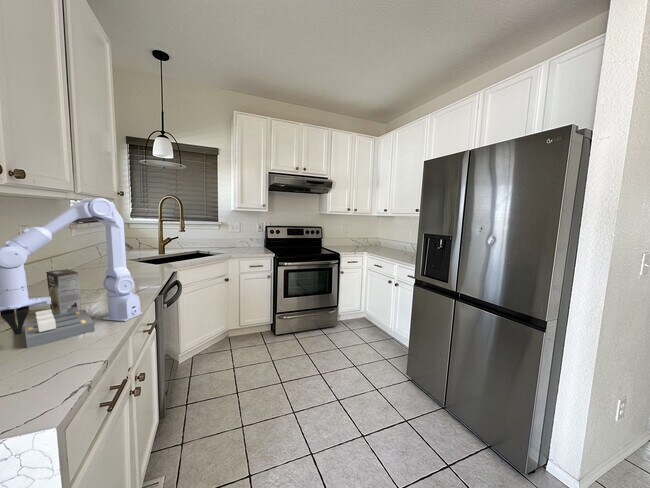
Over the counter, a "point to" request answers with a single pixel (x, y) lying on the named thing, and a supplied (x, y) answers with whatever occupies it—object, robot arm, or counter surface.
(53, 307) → the coffee box
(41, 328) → the switch near
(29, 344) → the switch box
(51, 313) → the switch far
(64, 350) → the counter surface
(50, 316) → the switch middle
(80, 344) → the counter surface
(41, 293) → the counter surface
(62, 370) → the counter surface
